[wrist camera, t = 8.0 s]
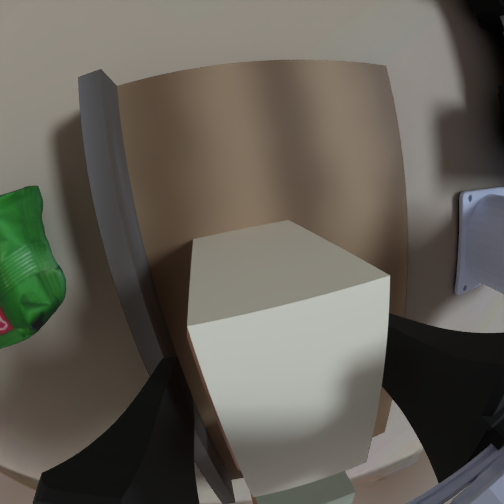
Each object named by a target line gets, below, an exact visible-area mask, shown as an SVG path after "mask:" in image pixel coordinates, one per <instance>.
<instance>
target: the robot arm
mask: <svg viewBox="0 0 504 504" xmlns="http://www.w3.org/2000/svg"><path fill="white" fill-rule="evenodd" d="M482 284H484V285H486V286H488V287H490V288H493V289H495V290H497V291H499V292H501V293H503V294H504V186H500V187H492V188H484V189H477V190H470V191H463V192H461V194H460V196H459V247H458V263H457V274H456V283H455V294H457V295H462V294H464V293H466V292H468V291H470V290H472V289H474V288H476V287H478V286H480V285H482ZM382 387H383V388H384V389H385V391H386V392H387V393H388V394H389V395H390V397H391V398H392V399H393V400H394V401H395V403H396V404H397V405H398V406H399V408H400V409H401V410H402V412H403V413H404V415H405V416H406V418H407V420H408V421H409V423H410V424H411V426H412V428H413V429H414V431H415V433H416V435H417V437H418V438H419V440H420V442H421V444H422V446H423V448H424V450H425V452H426V454H427V456H428V458H429V460H430V462H431V465H432V467H433V470H434V472H435V475H436V477H437V480H438V482H439V484H438V485H436V486H435V487H433V488H432V489H430V490H428V491H427V492H425V493H424V494H422V495H420V496H418V497H417V498H415V499H414V500H412V501H410V502H408V503H406V504H444V503H445V502H446V501H448V500H449V499H451V498H452V497H454V496H455V495H456V494H458V493H459V492H460V491H462V490H463V489H464V488H465V489H464V490H463V491H462V492H461V493H460V494H458V495H457V496H456V497H455V498H454V499H453V500H452V502H451V503H450V504H504V333H471V332H461V331H454V330H448V329H443V328H438V327H434V326H430V325H426V324H423V323H419V322H416V321H412V320H409V319H406V318H403V317H400V316H397V315H394V314H391V313H389V318H388V333H387V344H386V354H385V363H384V372H383V379H382ZM194 426H195V416H194V407H193V398H192V393H191V391H190V388H189V386H188V383H187V381H186V378H185V376H184V373H183V370H182V368H181V365H180V362H179V359H178V357H177V356H176V357H170V358H164V359H162V360H161V361H160V362H159V364H158V365H157V367H156V368H155V370H154V371H153V373H152V375H151V376H150V378H149V379H148V381H147V382H146V384H145V385H144V387H143V388H142V389H141V391H140V392H139V394H138V395H137V397H136V398H135V399H134V400H133V402H132V403H131V404H130V406H129V407H128V408H127V409H126V411H125V412H124V413H123V414H122V415H121V416H120V417H119V419H118V420H117V421H116V422H115V423H114V424H113V425H112V426H111V427H110V428H109V429H108V430H107V431H106V432H104V433H103V434H102V435H101V436H100V437H99V438H97V439H96V440H95V441H94V442H93V443H91V444H90V445H89V446H88V447H86V448H85V449H84V450H82V451H81V452H79V453H78V454H76V455H75V456H73V457H72V458H70V459H68V460H67V461H65V462H63V463H61V464H59V465H57V466H55V467H54V468H52V469H50V470H48V471H45V472H43V473H42V474H41V477H40V480H39V483H38V487H37V490H36V493H35V497H34V500H33V504H199V499H198V493H197V486H196V479H195V470H194ZM468 485H469V486H468ZM467 486H468V487H467ZM466 487H467V488H466Z"/></svg>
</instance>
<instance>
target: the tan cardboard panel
mask: <svg viewBox="0 0 504 504" xmlns="http://www.w3.org/2000/svg"><path fill="white" fill-rule="evenodd" d="M78 85H79V103H80V115H81V126H82V135H83V143H84V151H85V158H86V164H87V171H88V177H89V182H90V188H91V193H92V198H93V203H94V208H95V212H96V217H97V221H98V225H99V230H100V234H101V238H102V242H103V245H104V249H105V253H106V257H107V260H108V264H109V267H110V270H111V274H112V277H113V280H114V284H115V287H116V290H117V293H118V296H119V299H120V302H121V305H122V308H123V311H124V313H125V316H126V319H127V322H128V324H129V327H130V330H131V332H132V335H133V338H134V340H135V343H136V345H137V348H138V350H139V353H140V355H141V357H142V360H143V362H144V364H145V367H146V369H147V371H148V374H149V376H151V375H152V373H153V371H154V370H155V368H156V367H157V365H158V364H159V362H160V361H161V360H162V359H164V358H170V357H176V356H177V357H178V359H179V362H180V365H181V368H182V370H183V373H184V376H185V378H186V381H187V383H188V386H189V388H190V391H191V393H192V398H193V407H194V416H195V426H194V461H195V463H196V465H197V466H198V468H199V469H200V471H201V473H202V474H203V476H204V477H205V479H206V480H207V482H208V483H209V485H210V486H211V488H212V489H213V491H214V492H215V494H216V495H217V497H218V498H219V499H220V501H221V502H222V504H229V503H235V498H234V493H233V487H232V482H231V480H232V479H238V478H244V477H243V475H242V472H241V470H238V469H237V467H236V464H235V462H234V460H233V458H232V455H231V453H230V451H229V449H228V446H227V444H226V442H225V439H224V437H223V434H222V432H221V430H220V427H219V425H218V422H217V420H216V417H215V415H214V412H213V410H212V407H211V404H210V402H209V399H208V396H207V394H206V391H205V388H204V386H203V383H202V380H201V377H200V374H199V372H198V369H197V366H196V363H195V360H194V357H193V354H192V351H191V348H190V345H189V342H188V339H187V319H188V301H189V285H190V272H191V259H192V247H193V239H196V238H201V237H206V236H211V235H215V234H220V233H225V232H230V231H235V230H240V229H245V228H250V227H255V226H260V225H265V224H270V223H275V222H281V221H286V220H289V221H291V222H293V223H295V224H297V225H299V226H301V227H303V228H305V229H307V230H309V231H310V232H312V233H314V234H316V235H318V236H320V237H322V238H324V239H325V240H327V241H329V242H331V243H333V244H335V245H337V246H338V247H340V248H342V249H344V250H346V251H348V252H349V253H351V254H353V255H355V256H357V257H358V258H360V259H362V260H364V261H366V262H367V263H369V264H371V265H373V266H374V267H376V268H378V269H380V270H381V271H383V272H385V273H387V274H388V275H390V298H389V313H391V314H394V315H397V316H400V317H403V318H404V317H405V305H406V290H407V266H408V225H407V201H406V187H405V175H404V165H403V156H402V148H401V141H400V134H399V127H398V121H397V115H396V110H395V105H394V99H393V95H392V90H391V85H390V81H389V77H388V73H387V68H386V66H384V65H376V64H368V63H358V62H346V61H329V60H270V61H253V62H241V63H231V64H222V65H214V66H207V67H200V68H194V69H188V70H183V71H177V72H172V73H167V74H163V75H158V76H154V77H150V78H146V79H142V80H138V81H134V82H130V83H127V84H123V85H120V86H116V85H115V84H114V82H113V81H112V80H111V79H110V78H109V77H108V76H107V75H106V74H105V73H104V72H103V71H102V70H101V69H100V70H97V71H94V72H91V73H88V74H86V75H83V76H80V77H78ZM391 402H392V398H391V397H390V395H389V394H388V393H387V392H386V391H385V389H384V388H383V387H382V386H381V393H380V399H379V405H378V411H377V416H376V421H375V426H374V431H373V436H372V437H375V436H377V435H379V434H381V433H383V432H385V428H386V424H387V420H388V416H389V411H390V407H391Z"/></svg>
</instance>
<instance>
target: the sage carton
mask: <svg viewBox="0 0 504 504" xmlns="http://www.w3.org/2000/svg"><path fill="white" fill-rule="evenodd" d="M250 493H251V492H250ZM354 496H355V490H354V488H353V486H352V484H351V482H350V480H349V478H348V476H347V474H346V473H345V471H343V472H340V473H338V474H335V475H332V476H329V477H326V478H323V479H320V480H317V481H314V482H311V483H308V484H305V485H301V486H298V487H294V488H291V489H287V490H283V491H279V492H275V493H271V494H266V495H262V496H257V497H253V496H252V494H251V497H252V501H253V504H352V502H353V499H354Z"/></svg>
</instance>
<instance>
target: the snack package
mask: <svg viewBox="0 0 504 504" xmlns="http://www.w3.org/2000/svg"><path fill="white" fill-rule="evenodd" d="M42 211H43V199H42V196H41V193H40V190H39V188H38V186H28V187H24V188H22V189H19V190H16V191H13V192H10V193H6V194H3V195H0V349H1V348H4V347H7V346H10V345H13V344H16V343H19V342H21V341H24V340H26V339H28V338H29V337H31V336H32V335H33V334H35V333H36V332H37V331H39V329H40V328H41V327H42V326H43V325H44V324H45V323H46V322H47V321H48V319H49V318H50V317H51V316H52V315H53V314H54V312H55V311H56V310H57V309H58V307H59V306H60V305H61V303H62V302H63V300H64V298H65V294H66V279H65V276H64V274H63V271H62V269H61V268H60V266H59V265H58V264H57V262H56V261H55V259H54V257H53V255H52V252H51V248H50V245H49V243H48V240H47V238H46V236H45V231H44V225H43V222H42Z"/></svg>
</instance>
